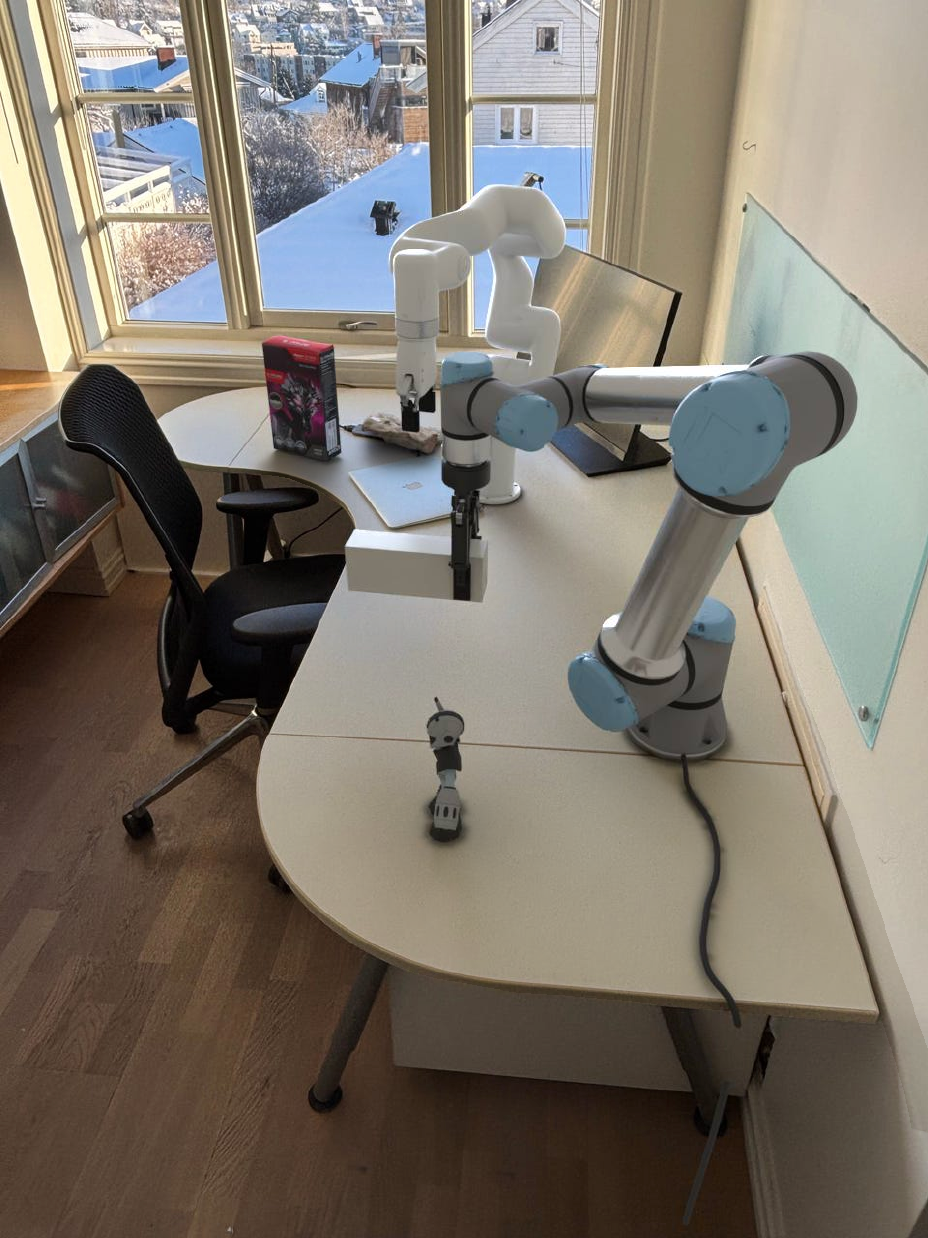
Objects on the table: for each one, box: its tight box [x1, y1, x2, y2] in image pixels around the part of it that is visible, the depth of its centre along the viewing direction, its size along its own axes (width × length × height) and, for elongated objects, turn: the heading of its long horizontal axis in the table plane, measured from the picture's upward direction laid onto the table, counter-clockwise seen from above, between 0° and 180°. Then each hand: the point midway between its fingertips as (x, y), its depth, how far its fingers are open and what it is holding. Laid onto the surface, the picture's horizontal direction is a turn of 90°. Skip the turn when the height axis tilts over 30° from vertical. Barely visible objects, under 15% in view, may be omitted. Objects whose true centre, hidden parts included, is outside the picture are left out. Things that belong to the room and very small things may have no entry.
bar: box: [344, 528, 489, 604], centre depth 151 cm, size 22×6×8 cm, turn 81°
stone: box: [360, 412, 442, 454], centre depth 233 cm, size 21×15×6 cm
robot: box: [425, 696, 465, 842], centre depth 121 cm, size 20×5×20 cm, turn 3°
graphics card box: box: [261, 334, 342, 462], centre depth 222 cm, size 17×7×27 cm, turn 62°
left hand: (419, 421), depth 168 cm, fingers open, 9 cm apart
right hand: (465, 588), depth 152 cm, fingers closed on bar, 6 cm apart
